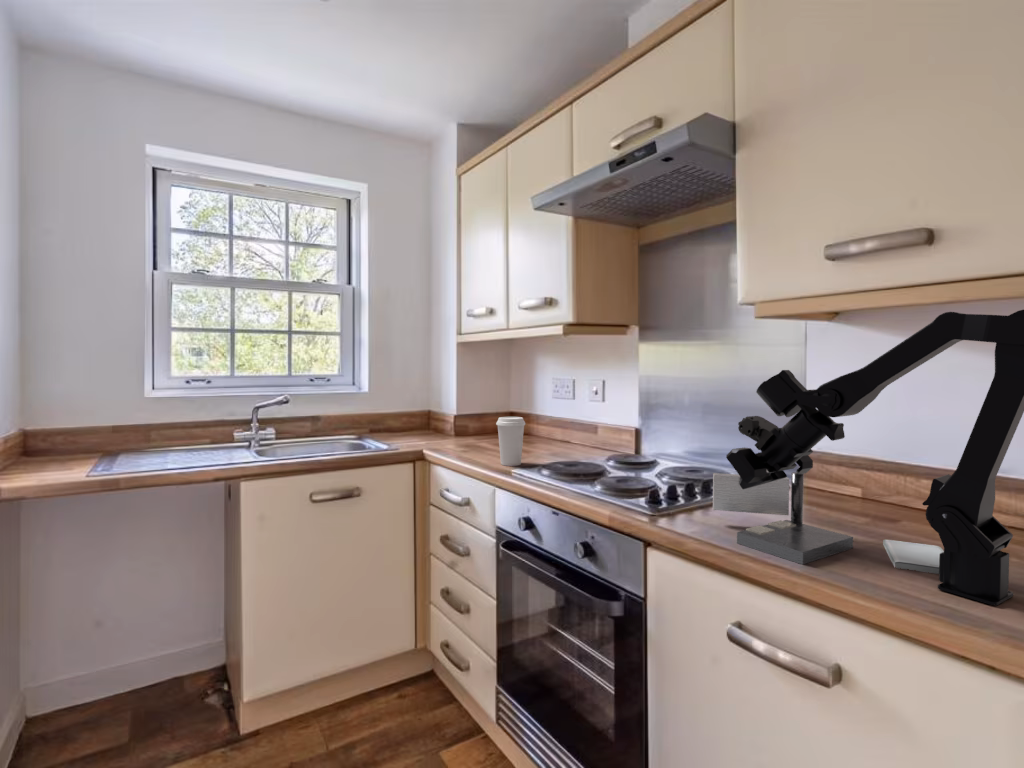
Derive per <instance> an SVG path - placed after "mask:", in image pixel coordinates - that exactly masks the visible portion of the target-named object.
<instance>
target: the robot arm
mask: <svg viewBox="0 0 1024 768" xmlns="http://www.w3.org/2000/svg"><path fill="white" fill-rule="evenodd" d="M962 341H971V342H982V343H983V342H984V343H994V344H995V348H994V374H993V379H992V381H991V384H990V386H989V387H988V391H987V392H986V395H985V398H984V401H983V402H982V405H981V408H980V410H979V413H978V415H977V417H976V420H975V422H974V425H973V428H972V430H971V433H970V435H969V437H968V440H967V442H966V445H965V447H964V450H963V452H962V455H961V457H960V460H959V461H958V464H957V466H956V470H955V471H954V472H953V473H951V475H950V474H945V475H942V476H940V477H935V478H933V479H932V481H931V485H930V490H929V494H928V497H927V498H926V499H925V500H924V501H923V502H922V503H921V504H922V505H923V506H927V507H926V510H925V518H926V521H927V522H928V523H929V525H930V527H931V528H932V529H933V530H934V531H935V532H936V533H938V536H939V538H940V541H941V544H942V546H943V551H944V552H942V553H940V557H939V574H938V581H939V582H940V583H939V584H937V589H938V590H941V591H942V592H947V593H951V594H954V595H957V596H960V597H963V598H967V599H971V600H974V601H977V602H980V603H984V604H987V605H991V606H999V605H1001V603H1004V602H1005V601H1007V600H1009V599H1011V598H1013V597H1014V591H1011V590H1009V577H1010V576H1009V575H1010V553H1009V552H1005V551H1002V550H1003V549H1006V548H1007V547H1008V546H1009V545H1010V542H1011V541H1012V539H1013V537H1014V535H1013V533H1012V532H1011V531H1009V529H1007V528H1006V526H1004V525H1003V524H1002V523H1001V522H1000V521H999V520H998V519H997V518H996V517H995V516H993V514H994V508H995V502H996V480H997V476H998V473H999V470H1000V469H1001V466H1002V464H1003V461H1004V459H1005V457H1006V454H1007V453H1008V449H1009V447H1010V445H1011V442H1013V441H1012V440H1013V438H1014V435H1015V433H1016V431H1017V429H1018V426H1019V424H1020V421H1021V419H1022V417H1023V415H1024V309H1021V310H1017V311H1015V312H1013V313H1010V314H1009V315H999V314H998V315H997V314H982V313H981V314H978V313H977V314H976V313H975V314H974V313H973V314H972V313H964V312H955V311H947V312H944V313H941V314H939V315H938V316H936V318H935V319H933V321H932V322H930V323H928V324H927V325H925V326H924V327H923V328H921V329H920V330H918V331H916V332H915V333H913V334H912V335H911V336H909V337H908V338H906V339H904V340H903V341H901V342H900V343H898V344H897V345H895V346H894V347H892V348H891V349H889V350H888V351H886V352H885V353H883V354H881V355H880V356H879V357H877V358H876V359H874V360H873V361H871V362H869V363H868V364H867V365H865V366H864V367H862V368H860V369H856V370H854V371H852V372H849V373H845V374H843V375H840V376H838V377H835V378H834V379H832V380H830V381H826V382H825V383H822V384H821V385H819V386H818V387H817V388H816V389H807V388H806V387H805V386H804V385H803V384H802V383H801V382H800V381H799V380H798V379H797V378H796V376H795V375H794V374H793V373H794V372H793V373H792V371H791V370H789V369H782V370H781V371H780V372H779V373H778V374H775V375H773V376H772V377H769V378H768V379H766V380H763V381H762V383H761V384H760V385H758V387H757V389H756V392H755V393H756V394H757V395H758V396H759V398H760V399H761V400H762V401H763V402H764V403H765V404H766V405H767V406H768V408H769V409H770V410H771V411H772V412H773V413H774V414H775V415H776V416H777V417H782V416H783V417H784V416H785V417H786V418H790V417H792V418H790V419H789V420H788V421H787V422H786V423H785V424H784V425H783V426H782V427H779V426H778V425H776V424H774V423H772V422H771V421H770V420H768V419H766V418H764V417H762V416H759V415H752V416H746V417H743V418H742V420H741V421H739V422H738V431H739V432H740V433H741V435H745V436H746V437H748V438H750V439H751V440H753V441H755V442H756V443H755V444H754V447H755V448H756V450H758V451H760V452H758V453H755V452H754V450H753V449H752V448H750V447H738V448H732V449H731V450H730V451H729V452H728V453H727V454H726V457H725V458H726V460H727V461H728V462H729V464H730V465H731V466H732V467H733V469H734V470H735V472H736V473H737V474H738V475H740V477H741V478H742V481H741V483H740V486H741V488H742V489H747V488H751V487H754V486H758V485H761V484H765V483H768V482H772V481H775V480H779V479H783V478H786V477H788V475H787V474H786V472H785V471H787V470H789V471H790V470H794V469H795V468H797V466H798V468H797V469H796V470H795V472H797V474H803V475H804V474H807V473H808V472H809V471H811V470H812V469H813V467H814V460H813V459H812V458H811V457H810V455H811V454H812V453H813V452H814V451H813V448H814V447H815V446H816V445H817V444H818V443H819V442H821V441H822V440H823V439H824V438H825V437H827V438H828V439H829V440H830V441H838V440H843V439H845V437H846V435H845V430H844V426H845V424H844V423H842V422H835V420H834V419H832V418H838V417H840V418H841V417H850V416H856V415H858V414H859V413H861V412H863V410H864V409H866V408H867V407H868V406H869V405H870V404H871V403H872V402H873V401H875V400H876V399H877V397H878V396H879V395H880V394H881V393H882V391H883V390H884V389H885V388H886V387H888V386H890V384H893V383H894V382H896V381H897V380H899V379H900V378H902V377H904V376H905V375H907V374H908V373H910V372H912V371H913V370H915V369H917V368H918V367H921V366H922V365H923V364H925V363H926V362H928V361H930V360H932V359H933V358H934V357H936V356H937V355H940V354H941V353H942V352H944V351H946V350H948V349H949V348H951V347H952V346H954V345H956V344H957V343H960V342H962Z"/></svg>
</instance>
